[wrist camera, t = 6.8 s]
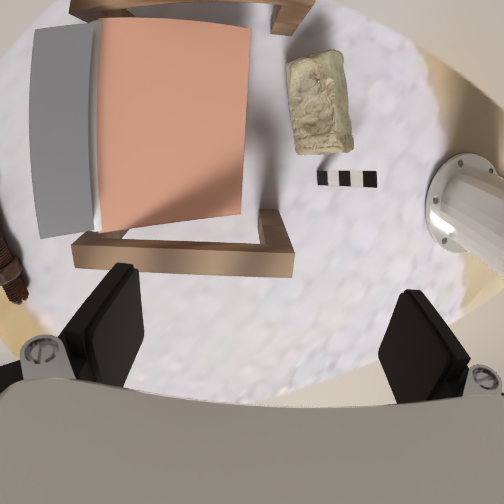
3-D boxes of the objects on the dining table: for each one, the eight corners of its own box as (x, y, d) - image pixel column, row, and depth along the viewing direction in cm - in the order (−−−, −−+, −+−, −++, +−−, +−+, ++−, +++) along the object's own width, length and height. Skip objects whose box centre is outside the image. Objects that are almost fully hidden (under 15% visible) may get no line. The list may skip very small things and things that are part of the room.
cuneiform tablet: (377, 187, 26) (364, 54, 23) (344, 191, 23) (329, 42, 20) (318, 185, 32) (308, 70, 28) (284, 189, 29) (273, 64, 26)
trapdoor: (234, 35, 23) (264, 23, 20) (225, 205, 30) (252, 221, 26) (44, 34, 16) (37, 16, 12) (48, 229, 22) (42, 252, 18)
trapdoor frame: (292, 18, 25) (315, -21, 15) (277, 229, 34) (291, 277, 24) (119, 21, 24) (72, -9, 14) (116, 223, 33) (74, 267, 23)
